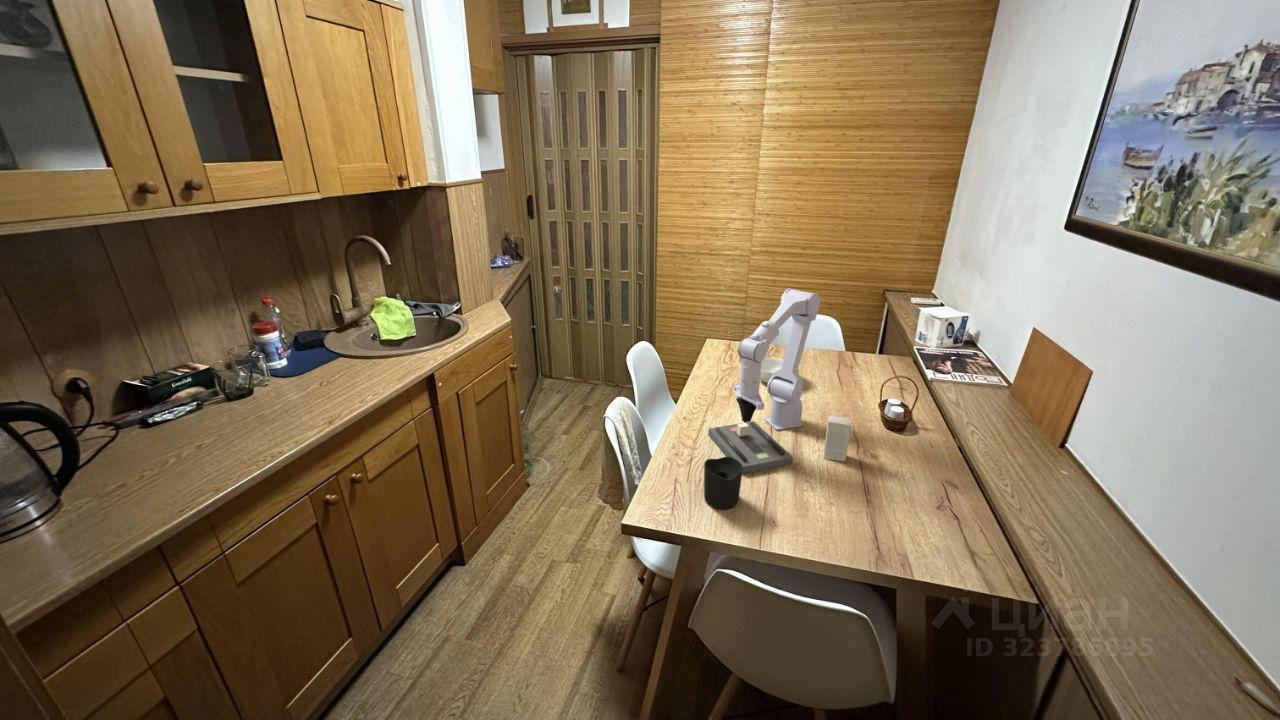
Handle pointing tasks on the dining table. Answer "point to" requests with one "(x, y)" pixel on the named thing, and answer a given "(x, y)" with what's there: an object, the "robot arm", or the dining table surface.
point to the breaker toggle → (742, 429)
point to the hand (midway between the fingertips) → (746, 421)
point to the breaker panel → (750, 447)
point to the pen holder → (722, 482)
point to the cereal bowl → (770, 368)
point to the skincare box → (837, 438)
